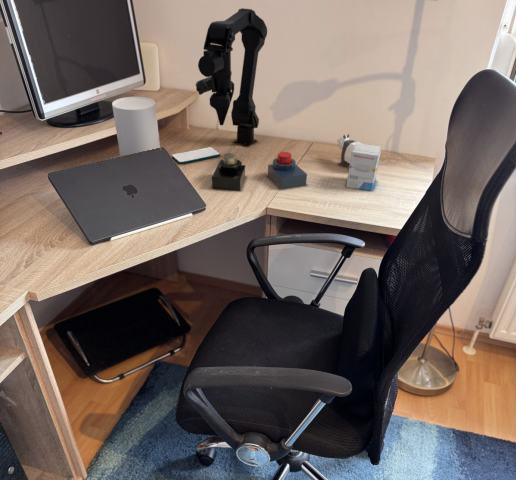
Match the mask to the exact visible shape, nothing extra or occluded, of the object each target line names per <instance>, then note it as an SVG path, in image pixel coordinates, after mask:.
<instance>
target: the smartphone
mask: <svg viewBox="0 0 516 480" xmlns="http://www.w3.org/2000/svg"><path fill="white" fill-rule="evenodd" d="M219 157H221V152H219V151H218V150H216V148H214V147H212V146H210V147H209V146H208V147H203V148H198V149H193V150H187V151H183V152H182V151H181V152H178V153H173V154H171V158H172V159H173V160H174V161H175V162H176V163H177V164H179V165H186V164H190V163H193V162H199V161H204V160H209V159H214V158H219Z"/></svg>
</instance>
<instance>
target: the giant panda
mask: <svg viewBox="0 0 516 480" xmlns="http://www.w3.org/2000/svg"><path fill="white" fill-rule="evenodd" d="M336 142H337V146H338V148H339V149H340V150H341V153H340V154H341V155H340V163H339V165H340V166H341V167H347V164H349V165H350V159H351V152H352V150H353V148H354V146H355V145H356V143H360V144H363V143H362V142H359V141H357V140H353V139H350V134H347V135H345V134H343V135H341V136H340V138H338V139H337V140H336Z"/></svg>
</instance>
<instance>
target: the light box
mask: <svg viewBox="0 0 516 480" xmlns="http://www.w3.org/2000/svg"><path fill="white" fill-rule="evenodd" d="M245 178H246V165H245V164H243V163H242V161H241V160H240V159H237V165H235V166H226V165H224V163H223V159H220V160H219V162H218V164H217V165H216V168H215V170H214V172H213V174H212V176H211V187H212V189H213V190H225V191H235V192H241V190H242V187H243V184H244V181H245Z"/></svg>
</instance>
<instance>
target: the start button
mask: <svg viewBox="0 0 516 480" xmlns="http://www.w3.org/2000/svg"><path fill="white" fill-rule="evenodd" d="M277 158H278V163H279V164H284V165H287V164H290V163H291V159H292V153H291V152H289V151H279V152H278V153H277Z"/></svg>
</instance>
